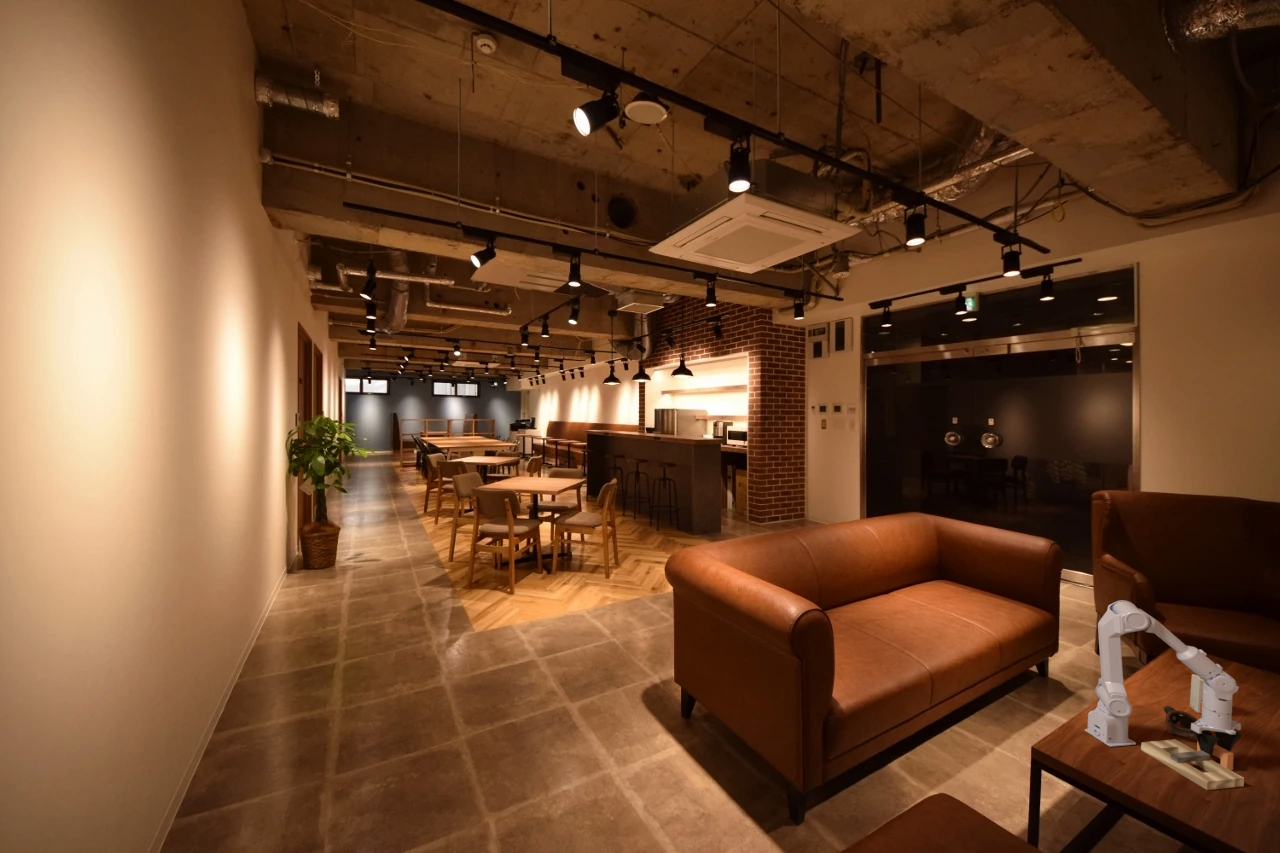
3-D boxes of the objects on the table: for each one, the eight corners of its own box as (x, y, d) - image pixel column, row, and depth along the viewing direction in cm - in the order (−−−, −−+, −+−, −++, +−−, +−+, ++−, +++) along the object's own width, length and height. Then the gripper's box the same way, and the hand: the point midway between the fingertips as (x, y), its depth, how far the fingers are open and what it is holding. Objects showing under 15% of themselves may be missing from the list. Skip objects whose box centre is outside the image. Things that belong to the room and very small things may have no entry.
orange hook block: (1226, 770, 142) (1227, 754, 141) (1196, 753, 149) (1197, 738, 148) (1232, 770, 142) (1233, 753, 142) (1202, 753, 149) (1203, 737, 149)
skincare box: (1197, 713, 168) (1199, 679, 168) (1189, 706, 172) (1190, 673, 172) (1221, 717, 166) (1223, 683, 166) (1212, 710, 170) (1214, 677, 170)
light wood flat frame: (1206, 790, 134) (1207, 776, 134) (1141, 749, 150) (1141, 737, 150) (1243, 786, 136) (1244, 772, 136) (1174, 746, 152) (1175, 734, 152)
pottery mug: (1218, 745, 153) (1213, 727, 151) (1185, 755, 155) (1180, 736, 153) (1179, 713, 164) (1174, 695, 163) (1149, 722, 166) (1144, 704, 164)
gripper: (1213, 719, 140) (1211, 765, 140) (1255, 715, 141) (1253, 761, 142) (1183, 704, 147) (1181, 748, 147) (1224, 701, 148) (1222, 744, 149)
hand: (1214, 753), depth 145 cm, fingers open, 5 cm apart
